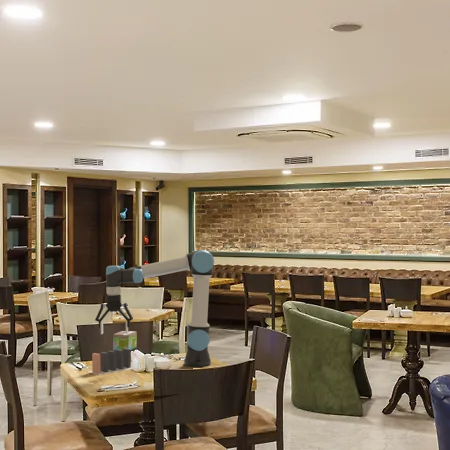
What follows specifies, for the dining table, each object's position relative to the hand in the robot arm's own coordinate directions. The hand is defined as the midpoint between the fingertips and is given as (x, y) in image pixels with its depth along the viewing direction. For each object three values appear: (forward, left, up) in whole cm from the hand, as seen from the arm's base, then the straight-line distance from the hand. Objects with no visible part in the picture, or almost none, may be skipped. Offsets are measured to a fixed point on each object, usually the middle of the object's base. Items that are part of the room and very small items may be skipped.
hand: (114, 333), depth 376 cm
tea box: (+26, -27, -20) cm, 43 cm away
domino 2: (0, +7, -19) cm, 20 cm away
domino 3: (0, +2, -19) cm, 19 cm away
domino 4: (0, -3, -19) cm, 20 cm away
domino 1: (0, +12, -19) cm, 23 cm away
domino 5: (0, -8, -19) cm, 21 cm away
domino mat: (0, +2, -20) cm, 20 cm away
